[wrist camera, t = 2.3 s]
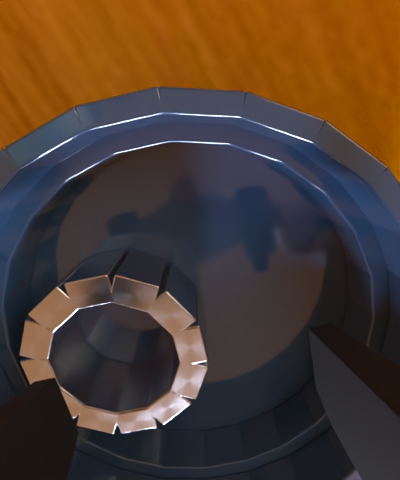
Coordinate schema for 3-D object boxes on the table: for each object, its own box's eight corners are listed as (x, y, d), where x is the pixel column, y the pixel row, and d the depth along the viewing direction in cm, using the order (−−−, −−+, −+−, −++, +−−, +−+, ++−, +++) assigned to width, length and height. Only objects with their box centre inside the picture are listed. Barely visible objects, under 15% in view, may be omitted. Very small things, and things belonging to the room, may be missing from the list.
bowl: (358, 65, 10) (454, 14, 6) (378, 409, 15) (443, 501, 11) (-57, 162, 11) (-192, 168, 7) (78, 463, 15) (39, 568, 11)
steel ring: (185, 234, 12) (183, 257, 9) (217, 366, 13) (222, 416, 11) (32, 267, 12) (-12, 298, 9) (82, 392, 14) (57, 447, 11)
